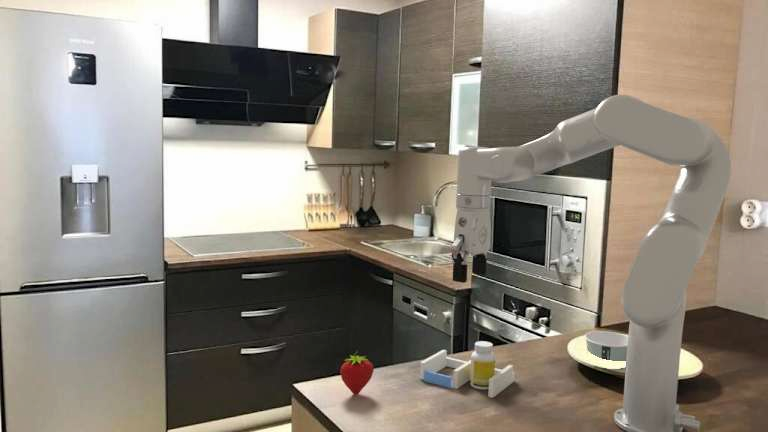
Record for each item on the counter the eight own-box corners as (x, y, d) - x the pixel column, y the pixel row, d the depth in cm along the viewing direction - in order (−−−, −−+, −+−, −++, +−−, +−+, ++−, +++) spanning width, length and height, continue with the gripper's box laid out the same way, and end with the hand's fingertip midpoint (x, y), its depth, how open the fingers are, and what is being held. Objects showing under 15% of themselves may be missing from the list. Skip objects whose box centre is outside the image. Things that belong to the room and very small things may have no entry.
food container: (635, 374, 155) (637, 348, 154) (583, 368, 158) (585, 342, 157) (630, 358, 167) (632, 333, 166) (582, 353, 170) (583, 329, 169)
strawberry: (378, 396, 139) (379, 351, 137) (347, 402, 135) (347, 356, 133) (365, 386, 144) (366, 343, 142) (334, 392, 140) (335, 348, 139)
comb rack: (514, 381, 149) (514, 364, 148) (491, 398, 138) (492, 381, 138) (444, 364, 159) (445, 348, 158) (418, 379, 148) (418, 362, 148)
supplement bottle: (498, 388, 144) (500, 346, 143) (477, 391, 142) (479, 348, 141) (486, 380, 149) (487, 339, 148) (465, 382, 147) (467, 341, 146)
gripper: (471, 207, 134) (467, 287, 136) (504, 201, 148) (500, 274, 150) (439, 204, 138) (436, 282, 140) (475, 198, 152) (471, 269, 155)
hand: (469, 277), depth 145 cm, fingers open, 9 cm apart
